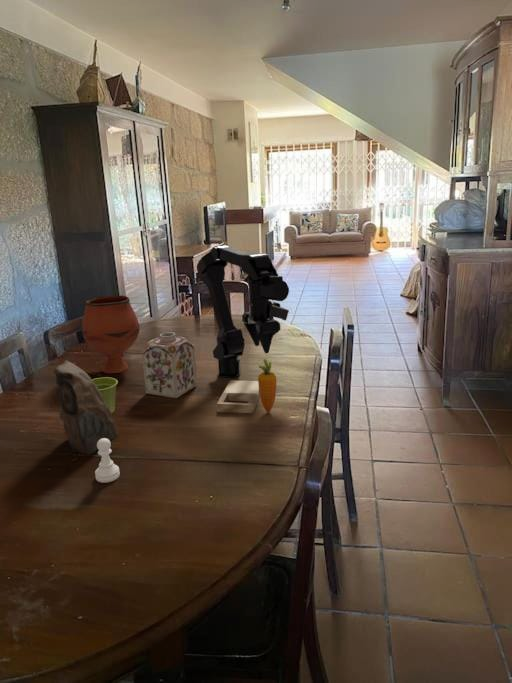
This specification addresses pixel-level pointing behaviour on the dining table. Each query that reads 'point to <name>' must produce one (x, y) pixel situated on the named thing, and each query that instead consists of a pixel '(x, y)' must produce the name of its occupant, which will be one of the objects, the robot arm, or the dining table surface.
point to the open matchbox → (239, 397)
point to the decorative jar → (169, 366)
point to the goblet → (110, 329)
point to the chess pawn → (106, 463)
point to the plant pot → (107, 390)
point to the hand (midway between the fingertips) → (261, 349)
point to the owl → (83, 409)
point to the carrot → (267, 386)
